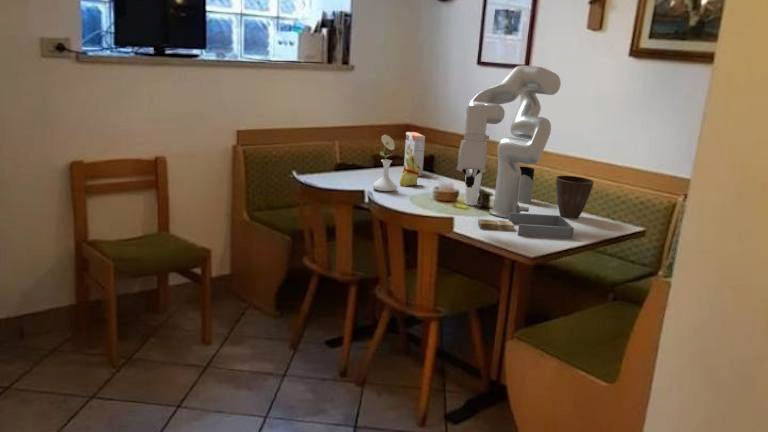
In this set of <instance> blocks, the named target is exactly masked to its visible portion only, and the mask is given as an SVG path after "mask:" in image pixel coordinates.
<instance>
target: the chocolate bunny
mask: <svg viewBox="0 0 768 432" xmlns="http://www.w3.org/2000/svg"><path fill="white" fill-rule="evenodd" d="M406 162H407V168H406V169H405V168H404V167H403V171H402V174H401V178H400V180H399V184H400V186H402V187H408V186H417V185H418V178H419V177H420V176H419V171H420V165H419V164H418V163H417V162H416V161H415V158H414V156H413V155H412V154H410V155H409V156H408V157H407V158H406Z"/></svg>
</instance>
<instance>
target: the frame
mask: <svg viewBox="0 0 768 432" xmlns="http://www.w3.org/2000/svg"><path fill="white" fill-rule="evenodd" d="M508 221H511V222H512V223H513V225H515V224H518V229H517V236H521V237H522V236H525V237H541V238H556V239H557V238H559V239H573V236H574V235H573V234H574V229H575V228H574V227H573V226H572V225H571V224H570V223H569V222H568V221H566V219H564V217H561V216H560V215H555V214H538V213H537V214H536V213H525V212H524V213H523V212H520V213H509V218H508Z"/></svg>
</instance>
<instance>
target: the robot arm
mask: <svg viewBox="0 0 768 432" xmlns="http://www.w3.org/2000/svg"><path fill="white" fill-rule="evenodd" d="M560 89H561V78H560V76H559V74H557V73H555V72H553V71H552V70H549V69H547V68H545V67H543V66H536V65H535V66H534V65H522V64H521V65H517V66H516V67H514V68H513V69H512V70H511V71H510V73H509V74H508V75H506V77H505V78H503V80H502V81H501V82H500V83H498V84H496V85H493V86H491V87H489V88H486V89H484V90H482V91H480V92H478V93H477V94H476V95H475V96H474V97H473V98H472V99H471V100H470V101H469V103H468V105H467V107H466V110H465V113H466V119H465V128H464V135H463V136H464V137H463V139H462V140H461V142H460V145H459V150H458V156H457V166H456V171H460V172H463V173H464V175H465V176H466V182H465V181H464V186H465V185H467V187H468V188H469V187H470V188H472V185H474V179H475V177H476V175H478V174H479V173H482V174H483V173H486V172H487V171H486V170H487V169H486V166H487V155H488V150H487V149H488V148H487V142H486V140H489V139H490V135H488V134H487V133H486V132H487V125H488V124H489V125H498V124H500V123H501V122H502V121H503V120H504V118H505V115H506V114H505V112H506V111H505V109H504V107H503V106H502V105H504V104H509V103H512V102H514V101H516V100H517V98H518V97H519V96H520V103H519V106H518V110H517V112H516V113H515V116H514V119H513V120H512V124H511V125H510V133H511V135H512V136H507V137H503V138H502V139H500V141H499V142H498V144H497V151H496V152H497V173H496V181H495V190H494V191H495V192H494V198H493V199H494V201H493V207H492V208H489V211H488V213H489V214H490V215H492V216H494V217H498V218H507V219H509V213H522V212H524V213H529V211H530V207H529V206H527V207H526V206H525V205H524V206H523V205H521V206H520V205H519V203H518V197H519V189H520V180H521V170H520V167H521V166H520V164H524V165H528V166H530V165H531V166H533V165H536V164H537V163H538V162H539V160H540V159H541V157H542V154H543V152H544V151H545V150H544V149H545V148H546V145H547V143H548V140H549V139H550V135H551V133H552V132H551V131H552V125H551V124H552V123H551V121H550V120H549V119H548V118H547V117H543V116H539V115H540V112H541V111H542V110H541V108H542V106H541V103H540V100H539V99H538V96H537V95H539V94H540V95H545V96H553V95H555V94H557V93H558V92H559V91H560ZM536 94H537V95H536ZM469 169H473V171H472V174H471V176H470V173H469Z"/></svg>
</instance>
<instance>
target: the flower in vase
mask: <svg viewBox="0 0 768 432" xmlns="http://www.w3.org/2000/svg"><path fill="white" fill-rule="evenodd" d="M381 142H382V144H383V146H384V148H383V151H382V150H380V152H379V155H380V156H382V157H384V159H381V160H380V161H381V162H382V166H383V174H382V176H381V178H379V179H378V180H376V181H375V182H374V183H373V184H372V188H373V189H375V190H377V191H380V192H381V191H382V192H392V191H396V190H397V189H398V185H397V184H396V183H395V182H394V181H393V180H392V178H390V177H389V170H390V166H391V163H393V160H392V159H387V157H389V156H392V153H390V154H388V155H385V150H386V148H387V149H388V150H390V151H393V150H395V149H396V148H395V147H396V145H395V142H394V139H393V138H392V137H391V136H390V135H387V134H383V135H382V136H381Z"/></svg>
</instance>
